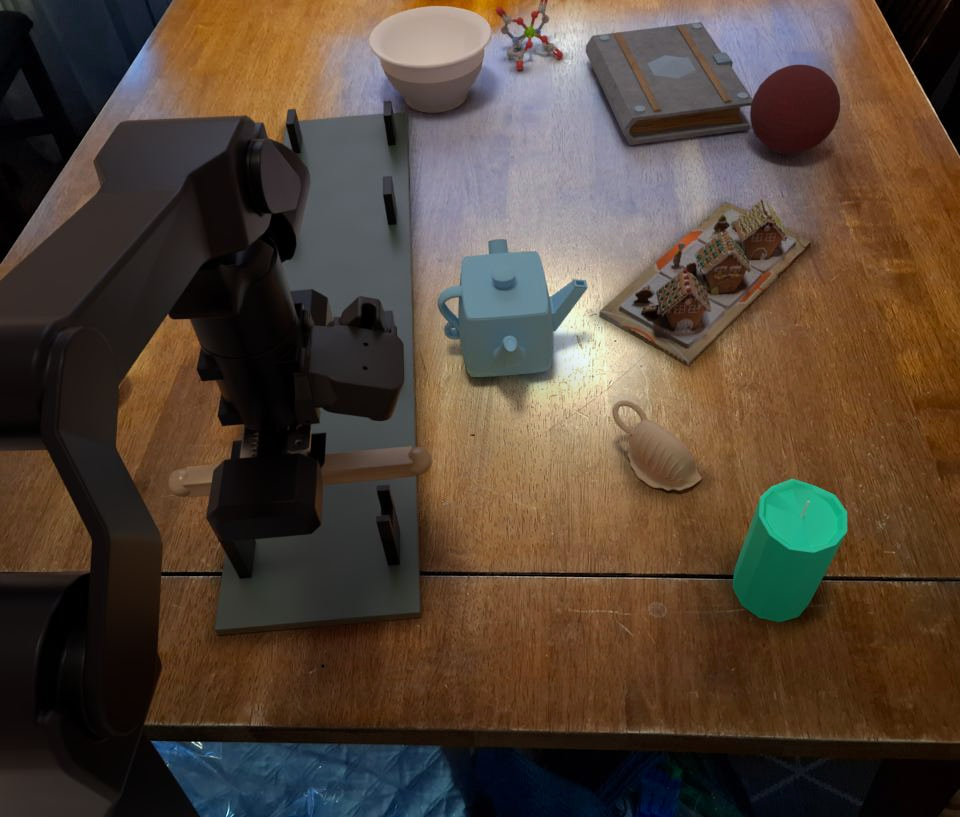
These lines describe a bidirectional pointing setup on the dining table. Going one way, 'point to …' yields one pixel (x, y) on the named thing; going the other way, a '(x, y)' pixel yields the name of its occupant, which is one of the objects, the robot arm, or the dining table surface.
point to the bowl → (432, 54)
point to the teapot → (506, 312)
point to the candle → (788, 549)
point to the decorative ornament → (657, 453)
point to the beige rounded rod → (324, 469)
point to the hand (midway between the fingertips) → (303, 480)
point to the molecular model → (527, 34)
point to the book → (668, 83)
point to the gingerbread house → (706, 280)
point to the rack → (348, 506)
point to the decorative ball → (795, 109)
